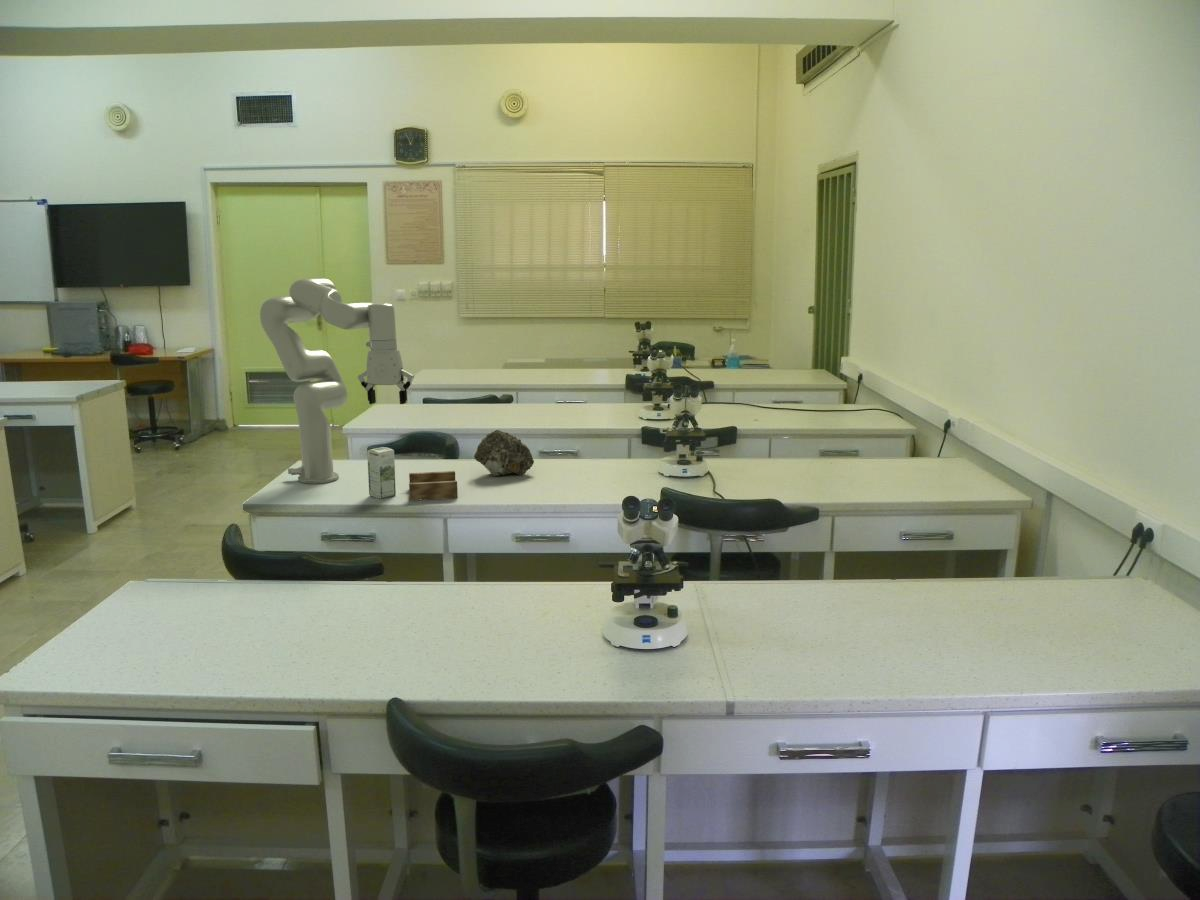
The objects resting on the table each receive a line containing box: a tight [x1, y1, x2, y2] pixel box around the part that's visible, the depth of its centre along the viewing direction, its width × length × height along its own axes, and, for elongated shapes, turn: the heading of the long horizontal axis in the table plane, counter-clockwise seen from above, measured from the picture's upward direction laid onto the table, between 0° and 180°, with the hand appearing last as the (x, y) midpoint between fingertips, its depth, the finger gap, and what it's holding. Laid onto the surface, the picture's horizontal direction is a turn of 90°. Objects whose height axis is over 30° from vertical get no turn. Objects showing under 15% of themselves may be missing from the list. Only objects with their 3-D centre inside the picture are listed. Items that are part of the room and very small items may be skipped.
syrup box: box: [366, 446, 397, 500], centre depth 272 cm, size 6×6×14 cm
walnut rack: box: [408, 470, 459, 501], centre depth 276 cm, size 14×14×5 cm
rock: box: [473, 429, 535, 477], centre depth 301 cm, size 18×14×15 cm
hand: (387, 403), depth 270 cm, fingers open, 9 cm apart
